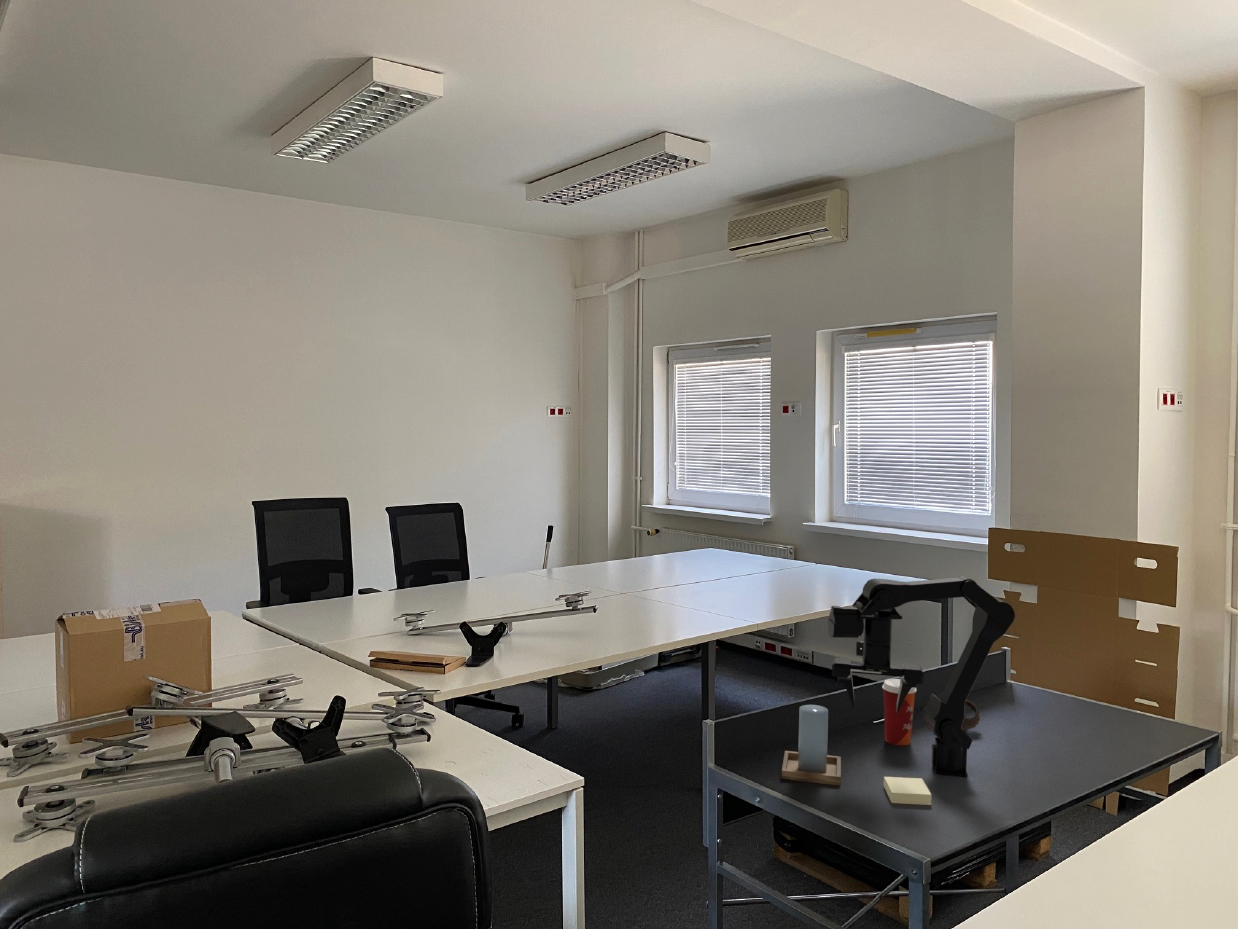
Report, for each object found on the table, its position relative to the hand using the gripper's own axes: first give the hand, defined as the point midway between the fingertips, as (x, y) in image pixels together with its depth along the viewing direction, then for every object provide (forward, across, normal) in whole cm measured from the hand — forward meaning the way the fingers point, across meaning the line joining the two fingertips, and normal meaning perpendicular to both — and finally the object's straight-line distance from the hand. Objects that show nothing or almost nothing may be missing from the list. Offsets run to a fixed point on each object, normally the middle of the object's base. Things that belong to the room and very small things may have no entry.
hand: (875, 709), depth 186 cm
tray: (+13, +13, +6) cm, 19 cm away
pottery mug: (+13, -20, -32) cm, 40 cm away
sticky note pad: (+13, -6, +12) cm, 19 cm away
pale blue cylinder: (+12, +13, +6) cm, 19 cm away
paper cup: (+13, -6, -18) cm, 23 cm away
